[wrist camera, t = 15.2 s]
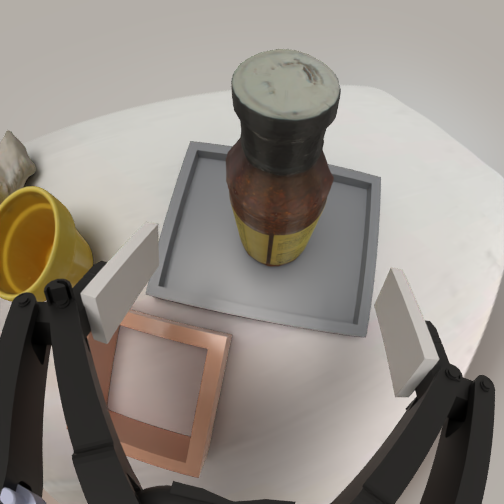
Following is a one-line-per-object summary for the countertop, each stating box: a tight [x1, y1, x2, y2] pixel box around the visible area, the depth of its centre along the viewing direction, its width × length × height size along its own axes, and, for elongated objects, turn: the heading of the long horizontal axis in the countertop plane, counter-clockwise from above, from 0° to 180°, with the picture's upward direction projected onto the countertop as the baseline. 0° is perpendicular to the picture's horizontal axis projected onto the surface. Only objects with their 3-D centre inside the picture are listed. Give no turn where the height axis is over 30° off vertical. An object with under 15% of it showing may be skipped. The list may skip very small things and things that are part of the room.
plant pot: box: [0, 186, 93, 302], centre depth 24 cm, size 10×10×10 cm
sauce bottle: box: [226, 49, 341, 266], centre depth 19 cm, size 7×6×20 cm
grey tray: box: [146, 141, 381, 337], centre depth 29 cm, size 20×16×2 cm
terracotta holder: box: [67, 309, 232, 478], centre depth 24 cm, size 12×12×6 cm
